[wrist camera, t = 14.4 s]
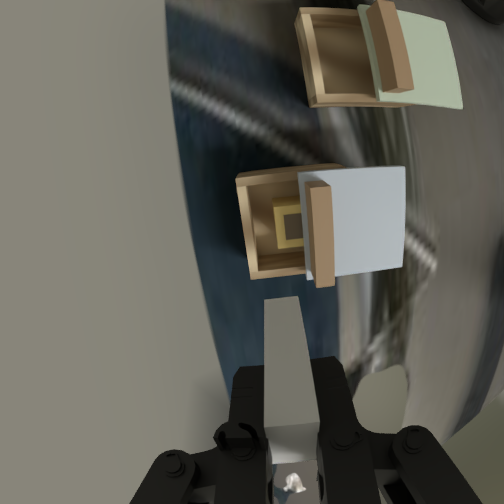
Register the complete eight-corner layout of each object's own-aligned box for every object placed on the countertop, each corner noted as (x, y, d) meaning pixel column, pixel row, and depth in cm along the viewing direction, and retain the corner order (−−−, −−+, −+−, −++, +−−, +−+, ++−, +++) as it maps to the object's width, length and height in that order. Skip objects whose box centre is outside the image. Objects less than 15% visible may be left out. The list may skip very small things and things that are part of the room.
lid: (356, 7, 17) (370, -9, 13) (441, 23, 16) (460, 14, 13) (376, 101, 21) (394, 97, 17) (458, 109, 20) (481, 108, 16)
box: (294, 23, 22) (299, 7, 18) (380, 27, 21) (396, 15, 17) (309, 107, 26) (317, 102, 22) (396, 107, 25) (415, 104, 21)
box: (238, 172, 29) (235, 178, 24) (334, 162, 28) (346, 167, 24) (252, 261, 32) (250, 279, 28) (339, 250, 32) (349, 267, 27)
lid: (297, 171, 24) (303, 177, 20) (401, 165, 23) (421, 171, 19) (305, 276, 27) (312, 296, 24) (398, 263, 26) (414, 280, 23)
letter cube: (271, 198, 29) (273, 207, 25) (310, 194, 29) (317, 202, 25) (276, 234, 30) (278, 249, 27) (313, 230, 30) (320, 244, 26)
